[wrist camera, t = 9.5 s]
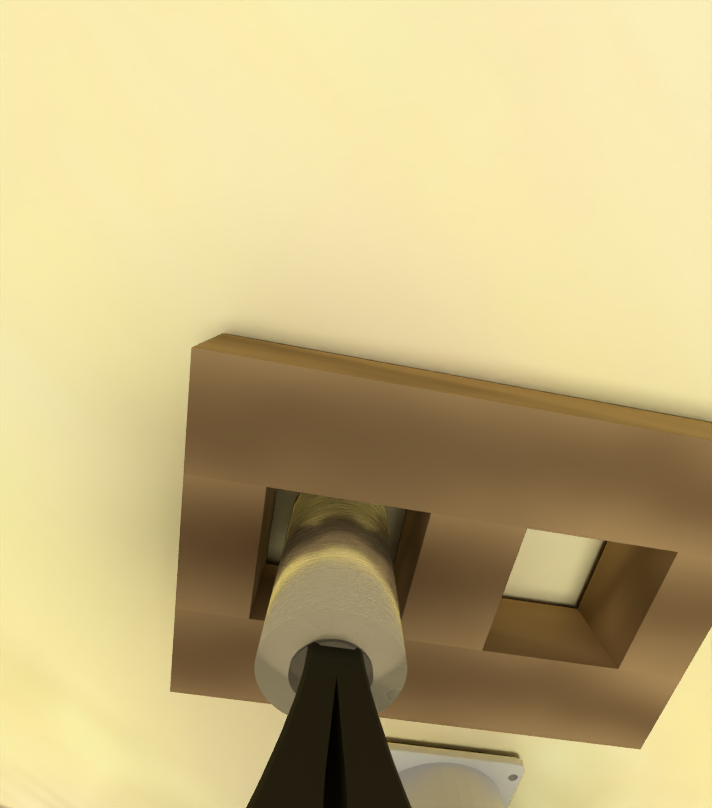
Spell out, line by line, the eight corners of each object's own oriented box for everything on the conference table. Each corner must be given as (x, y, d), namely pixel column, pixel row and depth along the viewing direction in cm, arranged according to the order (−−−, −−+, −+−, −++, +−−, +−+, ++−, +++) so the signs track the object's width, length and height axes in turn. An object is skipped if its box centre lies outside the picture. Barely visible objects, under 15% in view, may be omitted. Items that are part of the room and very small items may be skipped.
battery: (374, 562, 18) (388, 739, 11) (285, 548, 18) (244, 720, 11) (395, 484, 17) (425, 629, 10) (300, 468, 16) (263, 603, 10)
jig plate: (599, 681, 20) (640, 749, 17) (197, 628, 19) (170, 691, 16) (727, 425, 16) (809, 458, 13) (222, 333, 15) (191, 347, 12)
